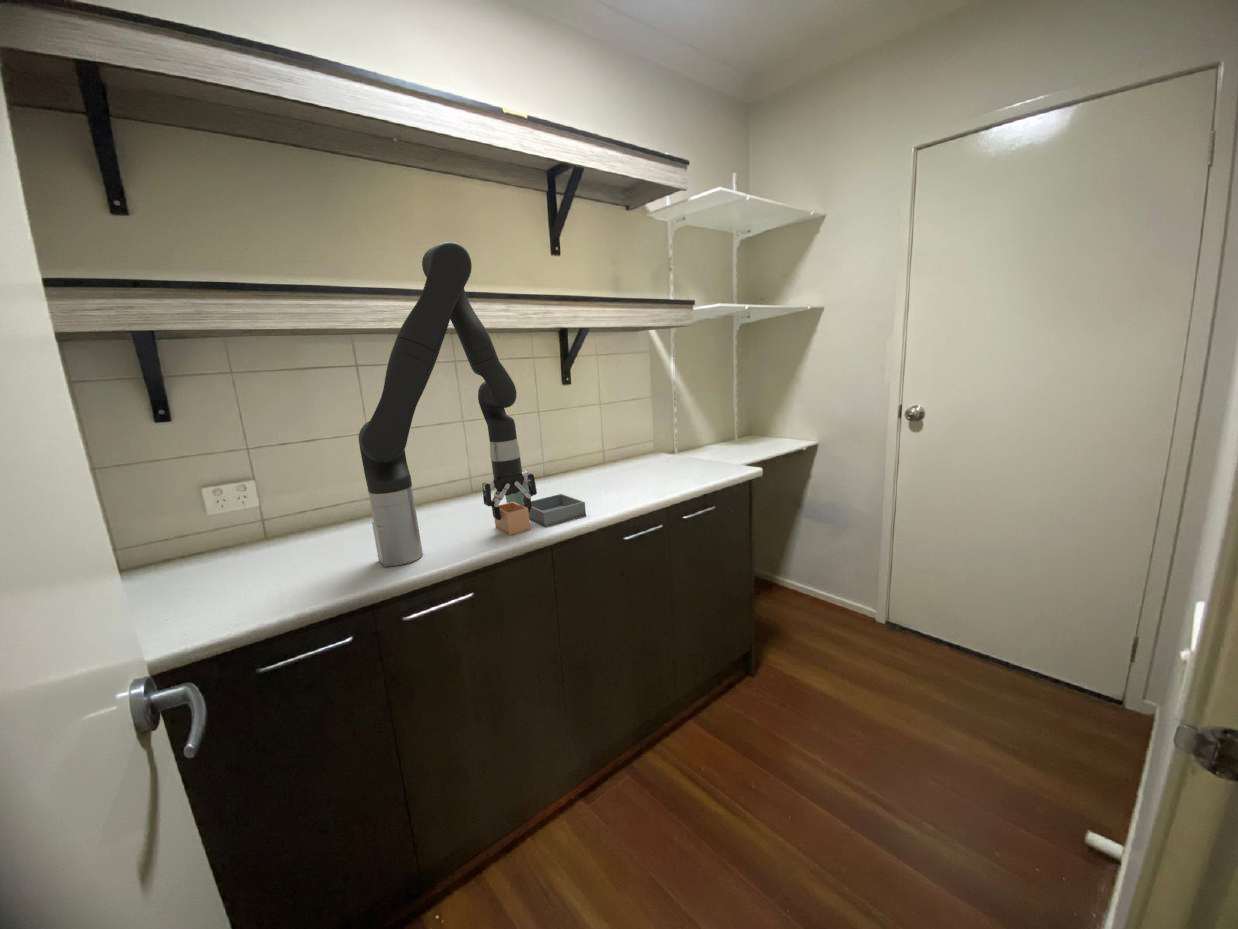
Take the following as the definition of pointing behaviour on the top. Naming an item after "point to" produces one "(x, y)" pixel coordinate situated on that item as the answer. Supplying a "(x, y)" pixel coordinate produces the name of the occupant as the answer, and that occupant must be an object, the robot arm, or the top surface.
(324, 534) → the top surface
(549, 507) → the big crate
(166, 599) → the top surface
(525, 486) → the coffee cup
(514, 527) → the small crate
